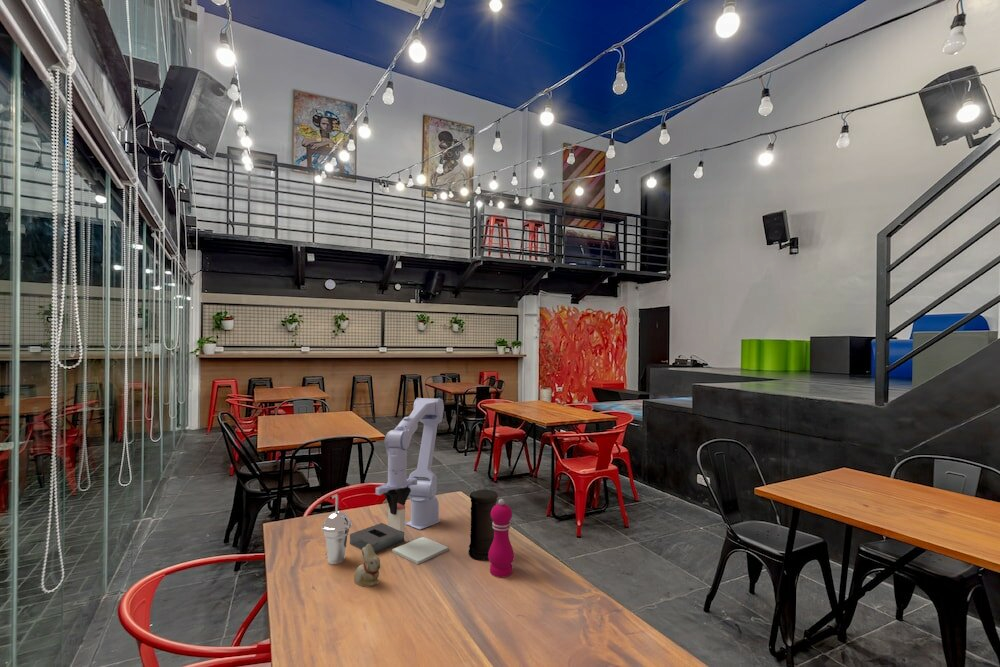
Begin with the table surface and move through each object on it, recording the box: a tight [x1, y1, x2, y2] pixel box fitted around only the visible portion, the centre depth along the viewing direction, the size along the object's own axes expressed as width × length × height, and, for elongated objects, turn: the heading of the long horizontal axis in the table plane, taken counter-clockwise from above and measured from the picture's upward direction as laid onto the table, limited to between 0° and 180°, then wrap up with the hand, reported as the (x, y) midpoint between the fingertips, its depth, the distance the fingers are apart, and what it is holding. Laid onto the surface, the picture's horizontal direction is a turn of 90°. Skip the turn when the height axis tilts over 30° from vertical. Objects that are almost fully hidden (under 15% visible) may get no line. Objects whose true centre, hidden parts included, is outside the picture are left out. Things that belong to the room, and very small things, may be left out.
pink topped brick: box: [387, 503, 406, 531], centre depth 141 cm, size 2×6×7 cm, turn 49°
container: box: [468, 489, 499, 561], centre depth 136 cm, size 9×9×18 cm
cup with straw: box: [320, 493, 353, 565], centre depth 131 cm, size 8×9×20 cm
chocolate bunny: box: [353, 544, 381, 588], centre depth 119 cm, size 6×8×10 cm
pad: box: [391, 536, 449, 565], centre depth 137 cm, size 12×12×1 cm
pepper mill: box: [488, 498, 515, 578], centre depth 125 cm, size 7×7×20 cm
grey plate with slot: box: [349, 522, 405, 555], centre depth 143 cm, size 12×12×3 cm
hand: (396, 512), depth 141 cm, fingers closed on pink topped brick, 2 cm apart
